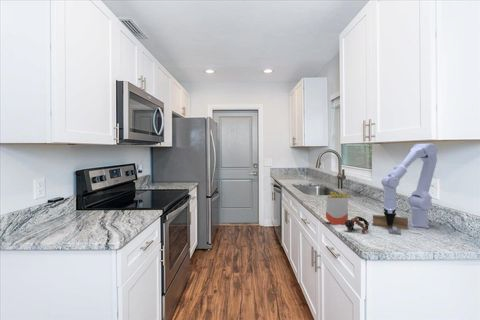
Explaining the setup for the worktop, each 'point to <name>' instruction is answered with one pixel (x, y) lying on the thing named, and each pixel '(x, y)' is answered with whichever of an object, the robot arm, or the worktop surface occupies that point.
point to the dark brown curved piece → (350, 223)
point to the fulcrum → (394, 230)
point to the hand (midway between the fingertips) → (389, 223)
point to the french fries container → (337, 208)
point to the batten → (398, 222)
